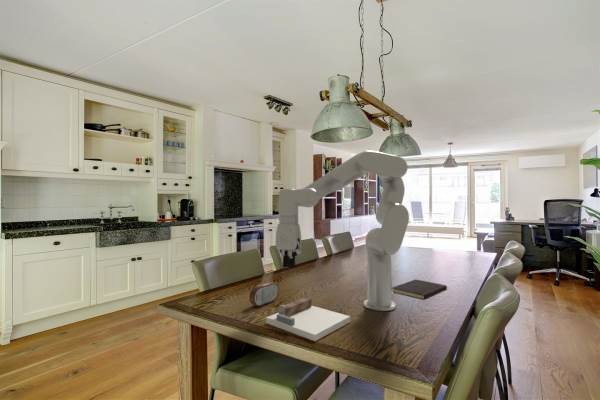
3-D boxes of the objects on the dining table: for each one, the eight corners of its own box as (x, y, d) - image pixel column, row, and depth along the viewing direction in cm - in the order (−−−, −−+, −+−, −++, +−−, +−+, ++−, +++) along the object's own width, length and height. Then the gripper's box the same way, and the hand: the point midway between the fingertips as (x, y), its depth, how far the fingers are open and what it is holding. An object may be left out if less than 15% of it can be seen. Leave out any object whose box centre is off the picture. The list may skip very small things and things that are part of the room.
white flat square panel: (303, 308, 126) (303, 298, 126) (350, 322, 111) (350, 310, 111) (266, 323, 111) (266, 311, 111) (315, 341, 96) (315, 328, 96)
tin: (274, 298, 139) (274, 279, 139) (280, 299, 137) (279, 280, 137) (248, 307, 127) (248, 286, 127) (254, 309, 125) (254, 288, 125)
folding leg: (282, 318, 109) (282, 308, 109) (276, 316, 111) (276, 306, 111) (311, 306, 121) (311, 297, 121) (305, 305, 123) (305, 295, 123)
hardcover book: (391, 292, 148) (391, 287, 148) (415, 283, 164) (415, 279, 164) (424, 300, 136) (424, 295, 136) (446, 290, 152) (446, 285, 152)
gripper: (267, 220, 125) (267, 266, 125) (297, 221, 114) (298, 272, 114) (281, 219, 131) (281, 263, 131) (310, 220, 120) (311, 268, 120)
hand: (289, 267), depth 123 cm, fingers closed
